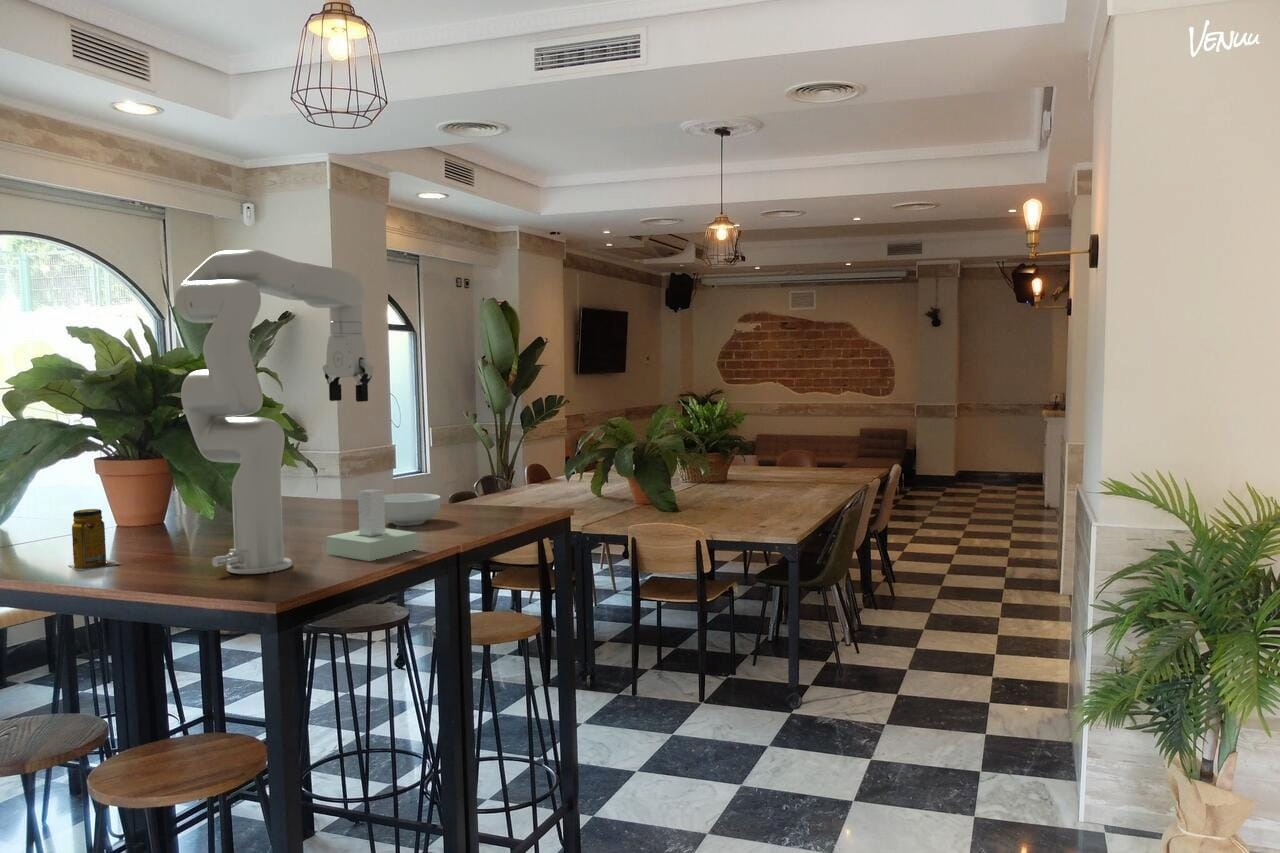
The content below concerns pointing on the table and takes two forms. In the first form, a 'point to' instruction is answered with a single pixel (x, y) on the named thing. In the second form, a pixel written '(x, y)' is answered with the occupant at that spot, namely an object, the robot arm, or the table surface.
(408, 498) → the cereal bowl
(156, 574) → the table surface
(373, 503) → the white rectangular block
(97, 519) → the condiment
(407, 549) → the green square socket block
